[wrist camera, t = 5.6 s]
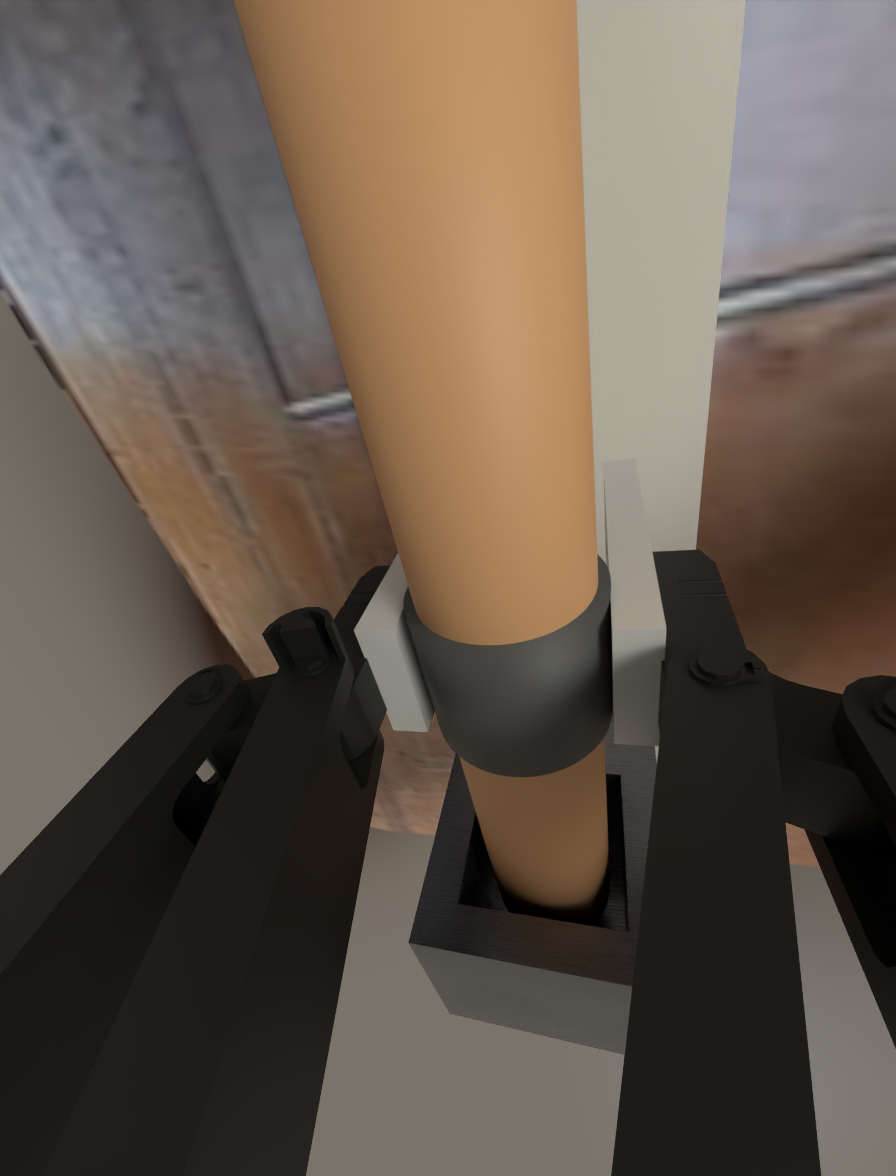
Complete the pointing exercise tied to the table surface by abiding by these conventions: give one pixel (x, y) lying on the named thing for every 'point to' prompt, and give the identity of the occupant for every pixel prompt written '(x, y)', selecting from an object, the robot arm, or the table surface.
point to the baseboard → (655, 238)
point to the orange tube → (469, 381)
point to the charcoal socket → (537, 922)
